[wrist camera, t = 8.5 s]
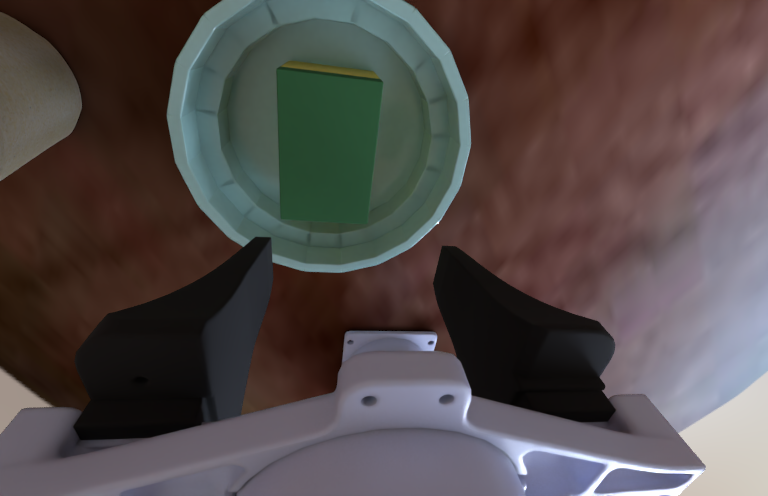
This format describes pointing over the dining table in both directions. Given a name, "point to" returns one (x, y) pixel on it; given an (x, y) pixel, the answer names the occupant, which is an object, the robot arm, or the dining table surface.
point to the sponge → (326, 141)
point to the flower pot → (32, 95)
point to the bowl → (260, 123)
